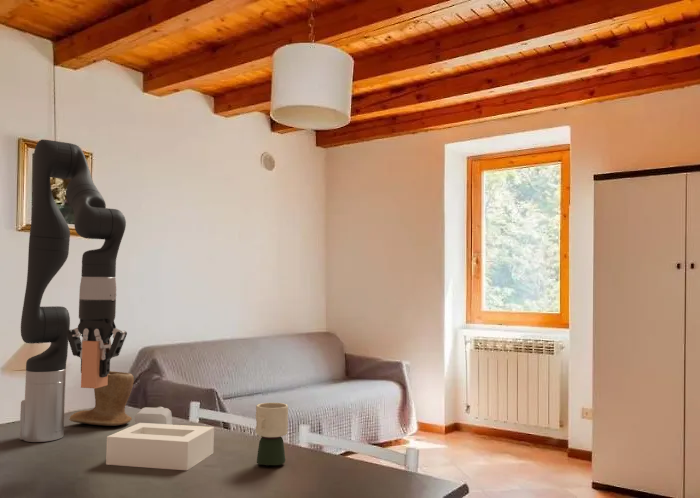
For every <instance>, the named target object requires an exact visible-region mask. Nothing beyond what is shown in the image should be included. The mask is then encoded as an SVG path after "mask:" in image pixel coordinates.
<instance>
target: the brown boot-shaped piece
mask: <svg viewBox="0 0 700 498" xmlns="http://www.w3.org/2000/svg"><path fill="white" fill-rule="evenodd" d="M134 383H135V378H134V375H133V374H132V373H130V372H124V371H123V372H122V371H115V370H113V371H112V370H110V372H109V374H108V385H106V386H103V387H99V388H93V389H94V407H93V408H92V409H87V410H80V411H77V412H75V413H73V414H71V415H70V416H69V419H68V420H69V421H70V422H74V423H77V424H78V423H79V424H85V425H91V426H92V425H93V426H102V427H103V426H105V427H107V426H108V427H110V426H120V425H121V426H122V425H126V424H128V423H130V422H131V421H132V416H130V415H128V414H127V413H126V410H125V409H126V405H127V403H128V400H129V399H130V396H131V393H132V391H133V387H134Z"/></svg>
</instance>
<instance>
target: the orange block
mask: <svg viewBox="0 0 700 498" xmlns="http://www.w3.org/2000/svg"><path fill="white" fill-rule="evenodd" d="M104 345H106V343H104ZM100 360H101V358H100V350H99V341H83V344H82V371H81V370H80V374H81V376H80V377H81V378H80V388H82V389H94V388H99V387H103V386H106V385H108V375H107V377H99V367H100Z"/></svg>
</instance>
